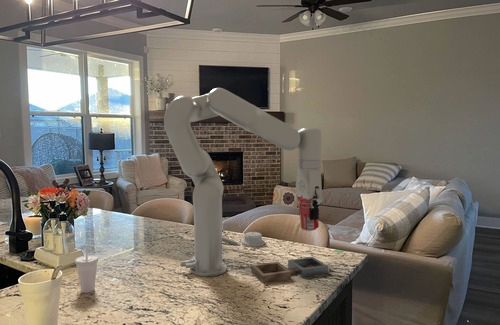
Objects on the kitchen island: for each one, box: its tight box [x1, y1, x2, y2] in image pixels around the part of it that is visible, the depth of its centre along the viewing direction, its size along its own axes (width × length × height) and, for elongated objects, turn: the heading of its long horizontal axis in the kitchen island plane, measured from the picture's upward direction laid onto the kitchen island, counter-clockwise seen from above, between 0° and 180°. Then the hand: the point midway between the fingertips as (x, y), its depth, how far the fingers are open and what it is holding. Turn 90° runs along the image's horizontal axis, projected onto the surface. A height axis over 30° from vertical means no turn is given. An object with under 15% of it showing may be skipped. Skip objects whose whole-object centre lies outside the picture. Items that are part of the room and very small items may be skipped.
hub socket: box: [286, 256, 329, 278], centre depth 128 cm, size 14×10×2 cm
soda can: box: [298, 195, 320, 232], centre depth 127 cm, size 6×6×12 cm
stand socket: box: [250, 261, 292, 284], centre depth 124 cm, size 10×10×2 cm
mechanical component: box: [240, 231, 266, 248], centre depth 159 cm, size 10×4×10 cm
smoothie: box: [74, 244, 99, 294], centre depth 111 cm, size 6×6×14 cm
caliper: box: [222, 236, 241, 246], centre depth 160 cm, size 20×1×6 cm, turn 67°
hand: (308, 216), depth 127 cm, fingers closed on soda can, 6 cm apart
